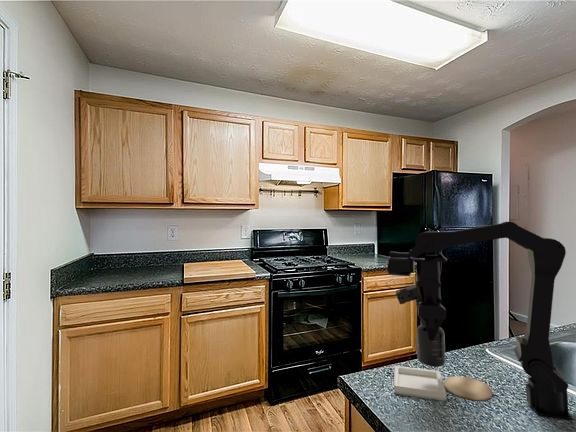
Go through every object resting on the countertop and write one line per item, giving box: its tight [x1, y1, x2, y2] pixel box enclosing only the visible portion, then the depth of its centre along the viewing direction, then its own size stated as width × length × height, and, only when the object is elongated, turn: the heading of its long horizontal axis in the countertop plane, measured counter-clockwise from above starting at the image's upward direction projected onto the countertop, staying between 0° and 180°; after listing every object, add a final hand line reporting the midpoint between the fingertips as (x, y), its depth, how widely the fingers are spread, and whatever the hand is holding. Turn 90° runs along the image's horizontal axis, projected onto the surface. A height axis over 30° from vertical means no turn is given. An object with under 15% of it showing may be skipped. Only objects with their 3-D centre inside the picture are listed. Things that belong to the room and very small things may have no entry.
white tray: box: [393, 365, 447, 402], centre depth 82 cm, size 12×12×2 cm
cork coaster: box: [443, 375, 493, 401], centre depth 80 cm, size 11×11×1 cm
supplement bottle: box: [416, 317, 446, 368], centre depth 82 cm, size 7×7×12 cm
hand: (430, 335), depth 82 cm, fingers closed on supplement bottle, 7 cm apart
